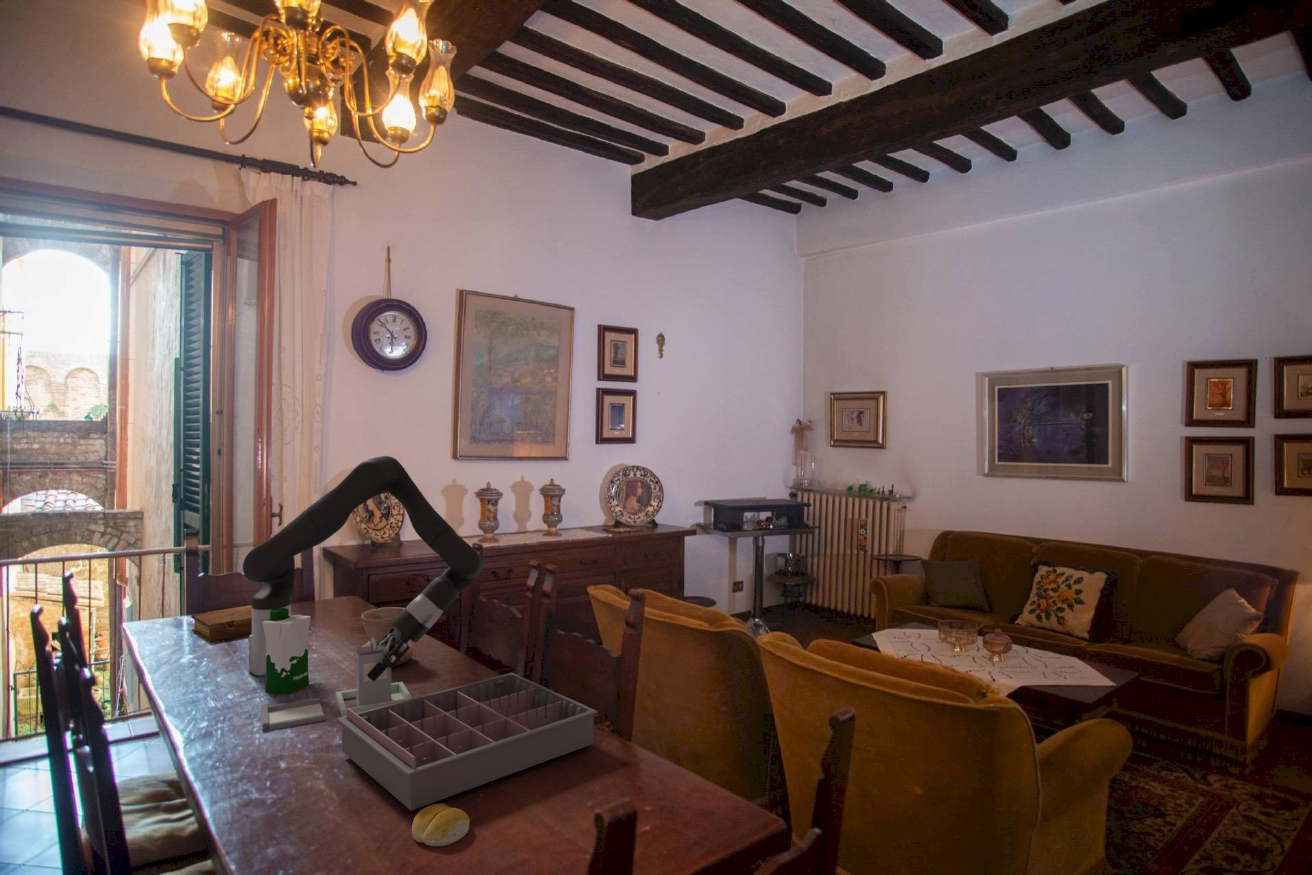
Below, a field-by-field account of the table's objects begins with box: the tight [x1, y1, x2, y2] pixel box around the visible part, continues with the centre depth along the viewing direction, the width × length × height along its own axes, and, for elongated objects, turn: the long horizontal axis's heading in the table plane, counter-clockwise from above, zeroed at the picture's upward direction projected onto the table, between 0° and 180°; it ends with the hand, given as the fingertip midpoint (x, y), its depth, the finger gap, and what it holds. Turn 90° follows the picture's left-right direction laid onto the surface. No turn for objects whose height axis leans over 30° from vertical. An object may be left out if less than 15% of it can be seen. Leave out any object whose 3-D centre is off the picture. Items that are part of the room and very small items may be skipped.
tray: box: [335, 681, 413, 717], centre depth 173 cm, size 15×13×2 cm
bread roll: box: [411, 802, 471, 847], centre depth 119 cm, size 8×9×4 cm
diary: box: [190, 604, 252, 643], centre depth 237 cm, size 23×19×6 cm
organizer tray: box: [336, 672, 599, 811], centre depth 148 cm, size 32×40×10 cm
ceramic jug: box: [361, 606, 414, 667], centre depth 203 cm, size 18×14×14 cm
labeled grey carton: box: [355, 637, 392, 707], centre depth 173 cm, size 7×5×15 cm
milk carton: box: [262, 608, 312, 695], centre depth 182 cm, size 9×9×20 cm
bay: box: [260, 697, 326, 732], centre depth 164 cm, size 12×12×2 cm
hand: (367, 672), depth 172 cm, fingers open, 8 cm apart
